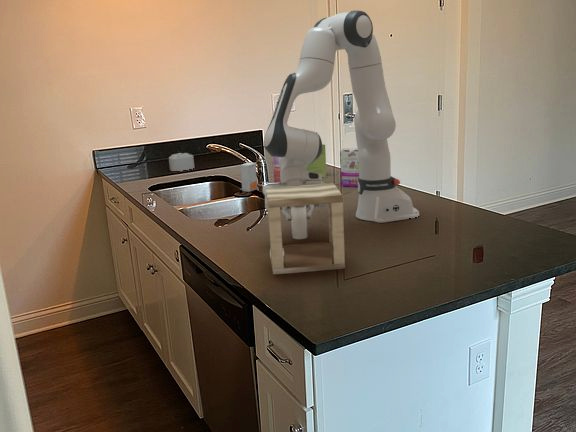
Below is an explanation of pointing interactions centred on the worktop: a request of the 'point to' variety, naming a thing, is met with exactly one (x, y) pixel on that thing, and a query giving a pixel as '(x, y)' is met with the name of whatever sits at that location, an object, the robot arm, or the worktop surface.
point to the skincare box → (248, 177)
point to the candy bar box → (349, 167)
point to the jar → (299, 222)
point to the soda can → (277, 173)
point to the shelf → (310, 253)
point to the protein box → (319, 164)
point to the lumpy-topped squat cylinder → (181, 162)
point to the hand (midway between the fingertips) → (299, 219)
